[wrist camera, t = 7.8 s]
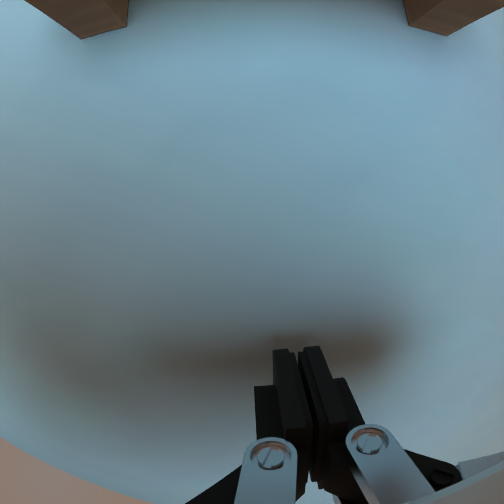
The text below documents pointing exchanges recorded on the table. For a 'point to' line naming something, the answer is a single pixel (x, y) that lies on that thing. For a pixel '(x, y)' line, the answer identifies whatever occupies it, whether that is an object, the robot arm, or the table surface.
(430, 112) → the table surface
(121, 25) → the bridge
